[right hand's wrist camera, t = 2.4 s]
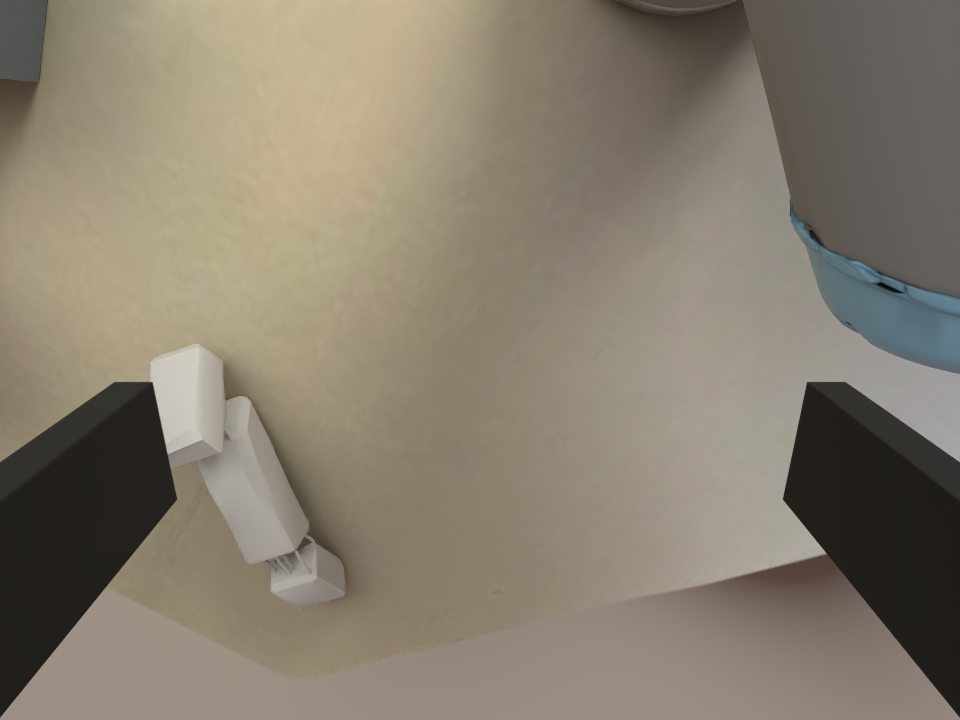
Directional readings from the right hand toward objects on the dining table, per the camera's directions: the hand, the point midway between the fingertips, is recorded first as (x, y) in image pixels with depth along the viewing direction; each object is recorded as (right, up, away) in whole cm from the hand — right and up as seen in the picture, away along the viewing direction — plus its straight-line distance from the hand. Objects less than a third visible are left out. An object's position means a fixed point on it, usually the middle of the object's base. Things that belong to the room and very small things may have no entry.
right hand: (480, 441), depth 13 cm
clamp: (-15, -6, +29) cm, 33 cm away
